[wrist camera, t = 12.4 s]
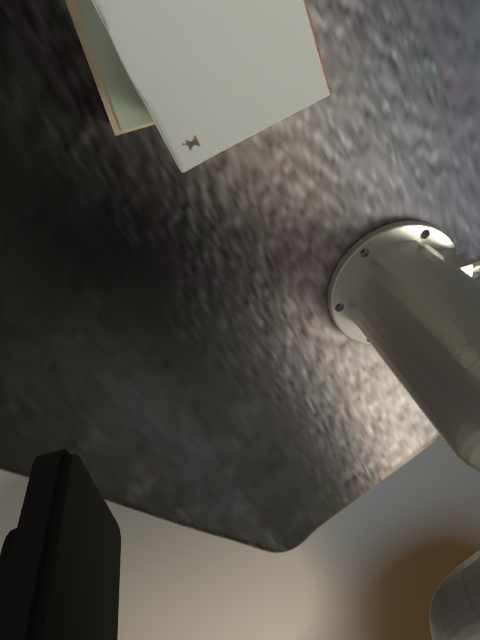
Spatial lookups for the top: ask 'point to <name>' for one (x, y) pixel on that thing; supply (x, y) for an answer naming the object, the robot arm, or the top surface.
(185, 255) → the top surface
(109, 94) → the plinth
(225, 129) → the small box
